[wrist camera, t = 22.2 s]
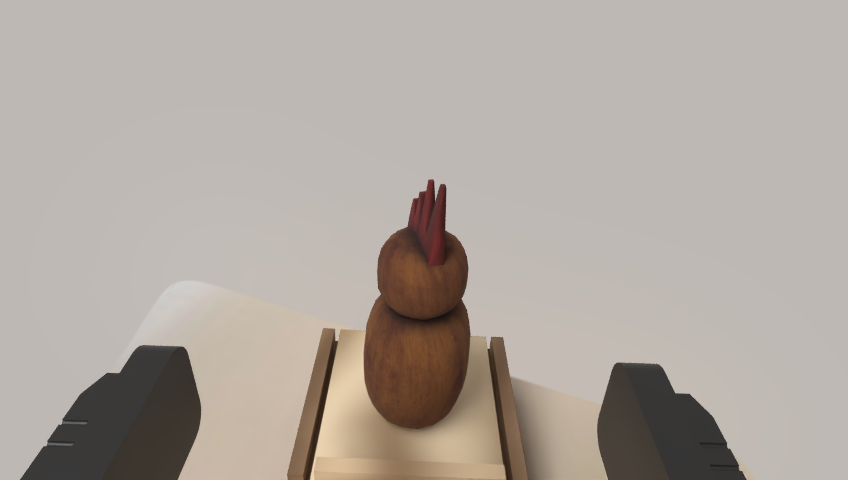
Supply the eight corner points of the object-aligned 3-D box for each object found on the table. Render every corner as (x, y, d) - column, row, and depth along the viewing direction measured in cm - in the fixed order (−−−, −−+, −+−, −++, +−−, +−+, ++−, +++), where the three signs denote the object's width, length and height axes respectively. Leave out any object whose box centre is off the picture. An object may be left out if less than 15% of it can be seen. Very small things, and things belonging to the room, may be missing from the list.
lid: (484, 345, 39) (489, 309, 37) (507, 521, 28) (516, 480, 26) (340, 338, 39) (340, 301, 37) (306, 512, 28) (303, 470, 26)
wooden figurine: (460, 453, 30) (496, 207, 23) (354, 443, 30) (354, 194, 23) (462, 366, 36) (491, 146, 28) (373, 357, 36) (377, 136, 29)
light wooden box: (489, 414, 43) (502, 337, 39) (511, 594, 31) (533, 511, 28) (326, 406, 42) (323, 328, 38) (289, 585, 31) (280, 501, 27)
